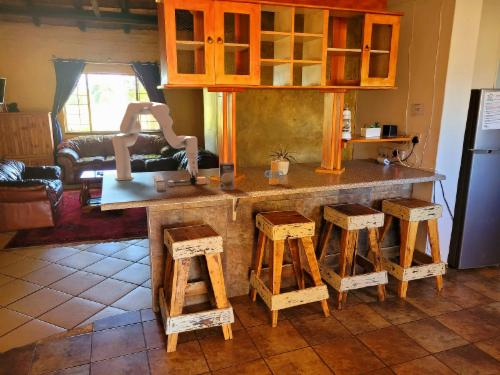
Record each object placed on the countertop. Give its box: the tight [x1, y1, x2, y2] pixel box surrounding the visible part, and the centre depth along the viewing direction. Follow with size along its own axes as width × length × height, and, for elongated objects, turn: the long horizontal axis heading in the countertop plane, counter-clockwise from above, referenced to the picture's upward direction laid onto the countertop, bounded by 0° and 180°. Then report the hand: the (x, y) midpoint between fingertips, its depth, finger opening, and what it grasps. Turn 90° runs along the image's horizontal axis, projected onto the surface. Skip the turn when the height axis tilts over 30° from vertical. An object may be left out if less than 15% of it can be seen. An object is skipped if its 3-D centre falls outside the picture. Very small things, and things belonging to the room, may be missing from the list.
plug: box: [167, 176, 207, 187], centre depth 241 cm, size 4×24×4 cm, turn 109°
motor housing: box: [152, 174, 166, 191], centre depth 235 cm, size 20×5×6 cm, turn 19°
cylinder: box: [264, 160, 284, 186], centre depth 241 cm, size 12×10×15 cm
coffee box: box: [219, 162, 235, 191], centre depth 227 cm, size 9×6×16 cm
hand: (192, 183), depth 242 cm, fingers closed on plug, 1 cm apart
